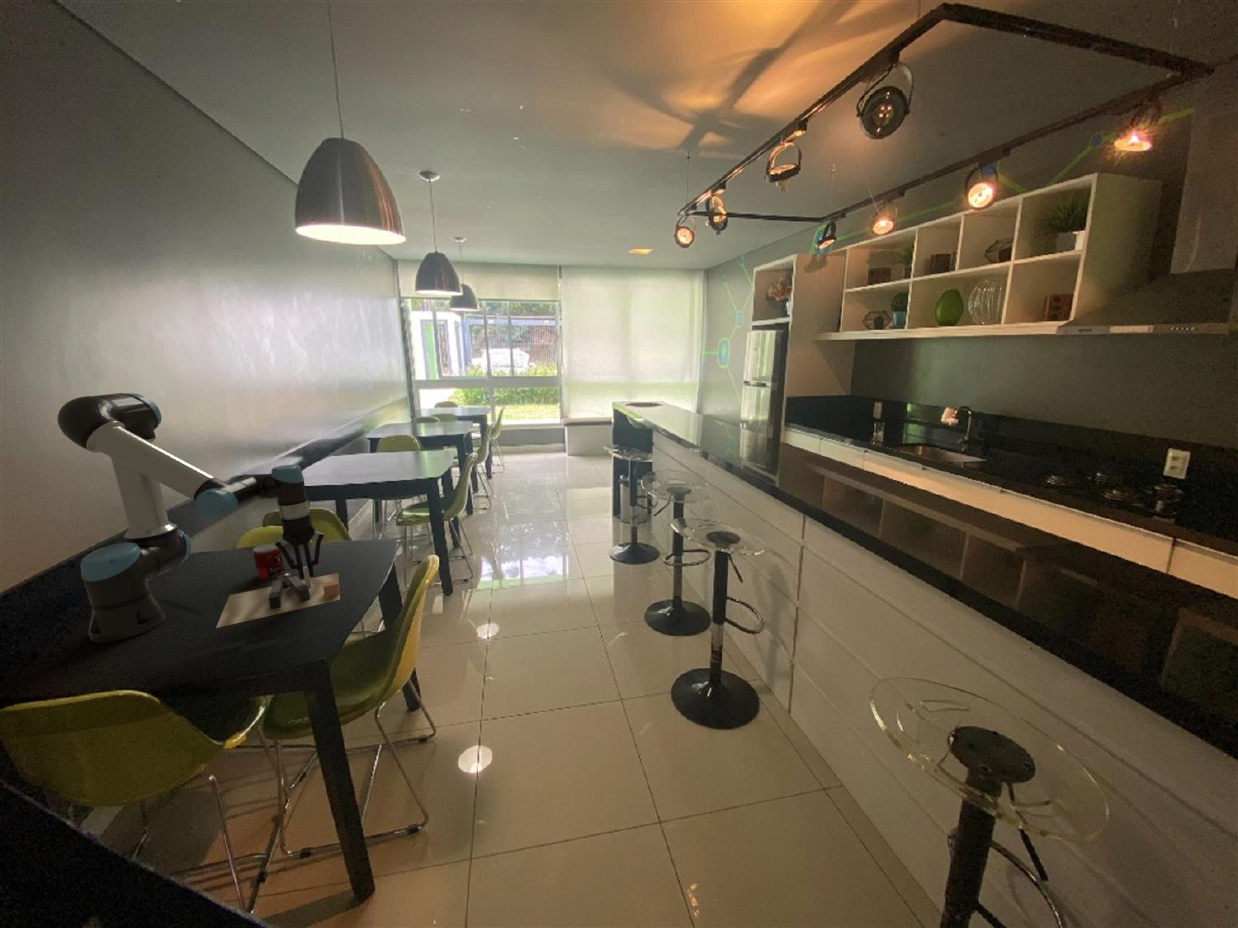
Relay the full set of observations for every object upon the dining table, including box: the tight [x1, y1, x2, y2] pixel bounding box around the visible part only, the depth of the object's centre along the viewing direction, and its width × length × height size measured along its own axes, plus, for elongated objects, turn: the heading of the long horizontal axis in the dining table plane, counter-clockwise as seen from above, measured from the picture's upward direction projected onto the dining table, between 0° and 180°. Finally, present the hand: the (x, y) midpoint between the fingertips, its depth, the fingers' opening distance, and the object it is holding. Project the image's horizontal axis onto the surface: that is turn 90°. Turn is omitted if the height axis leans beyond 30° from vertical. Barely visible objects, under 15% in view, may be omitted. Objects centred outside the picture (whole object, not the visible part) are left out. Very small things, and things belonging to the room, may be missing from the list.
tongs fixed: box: [269, 571, 292, 609], centre depth 152 cm, size 18×5×4 cm, turn 30°
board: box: [215, 572, 341, 629], centre depth 151 cm, size 30×22×1 cm
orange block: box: [323, 580, 341, 597], centre depth 153 cm, size 4×3×4 cm
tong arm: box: [288, 575, 310, 602], centre depth 153 cm, size 13×2×4 cm, turn 46°
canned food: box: [252, 542, 286, 580], centre depth 167 cm, size 8×8×11 cm
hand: (309, 586), depth 153 cm, fingers closed
